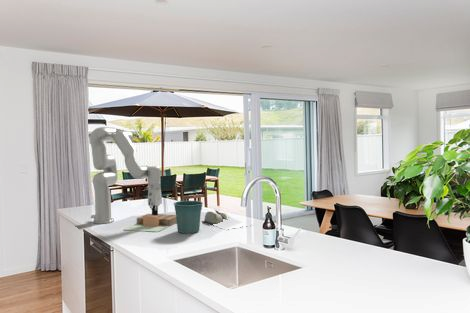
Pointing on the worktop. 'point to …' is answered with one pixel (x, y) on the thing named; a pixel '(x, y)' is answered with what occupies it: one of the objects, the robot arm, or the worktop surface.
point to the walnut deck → (161, 219)
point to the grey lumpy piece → (214, 218)
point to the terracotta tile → (151, 220)
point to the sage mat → (145, 228)
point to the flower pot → (188, 216)
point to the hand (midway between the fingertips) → (154, 216)
